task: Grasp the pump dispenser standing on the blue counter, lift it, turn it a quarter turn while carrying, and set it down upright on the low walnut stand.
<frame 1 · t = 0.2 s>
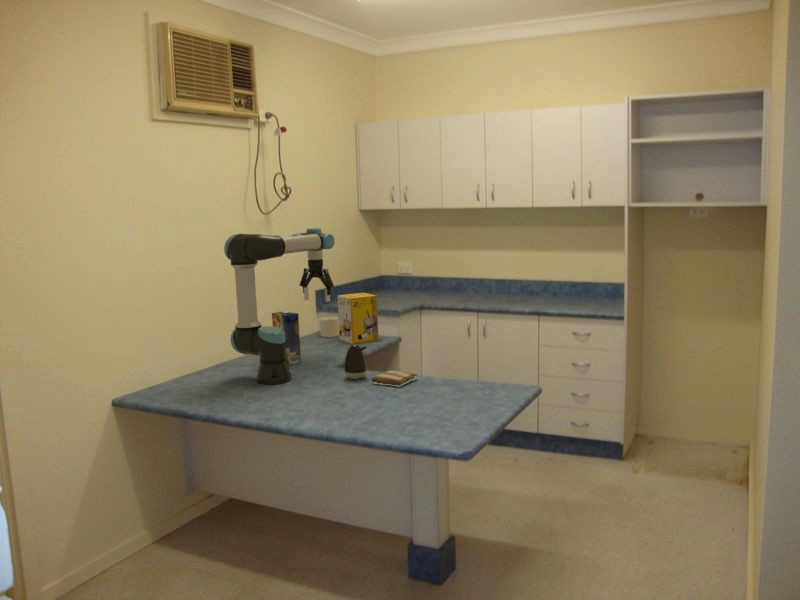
hand: (317, 300, 367), 28 cm above the countertop, fingers open, 13 cm apart
packaging box: (358, 340, 407), on the countertop
stand: (394, 381, 315), on the countertop
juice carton: (287, 361, 360), on the countertop
toilet tissue: (330, 336, 421), on the countertop
pump dispenser: (356, 378, 323), on the countertop
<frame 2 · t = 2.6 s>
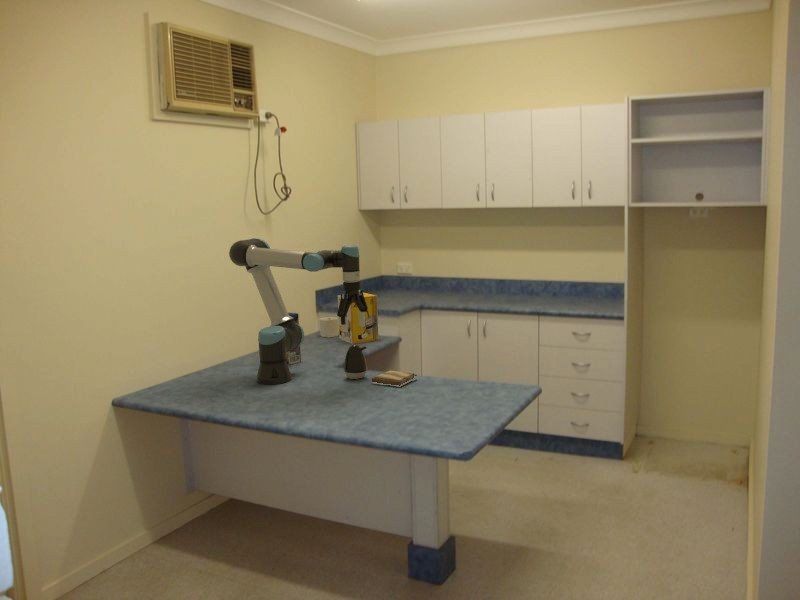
hand: (353, 329, 321), 22 cm above the countertop, fingers open, 13 cm apart
nothing on the countertop moved.
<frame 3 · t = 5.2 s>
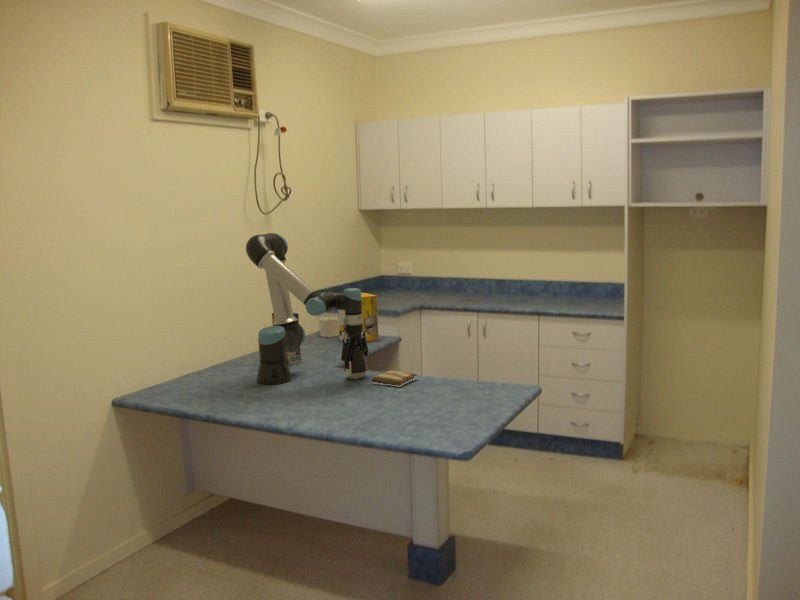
hand: (355, 372, 323), 2 cm above the countertop, fingers closed on pump dispenser, 10 cm apart
pump dispenser: (356, 378, 323), on the countertop, touching gripper
everything else where it was.
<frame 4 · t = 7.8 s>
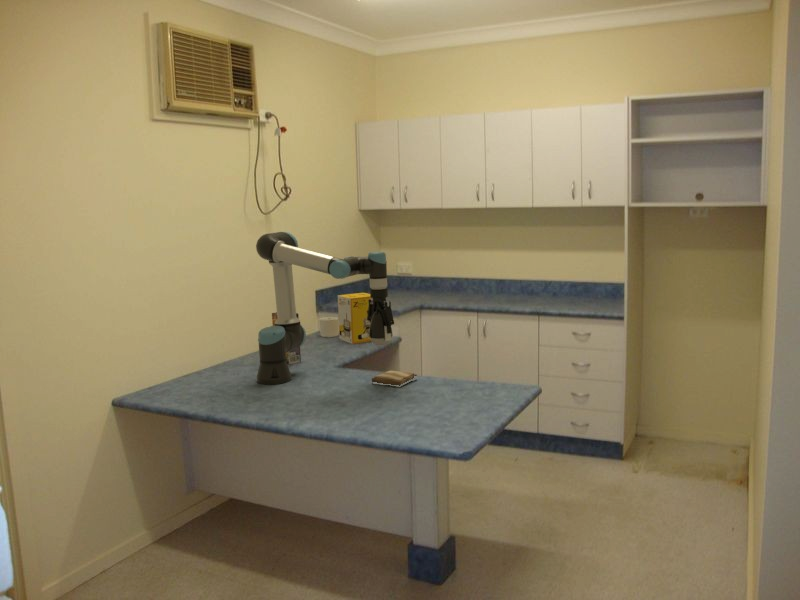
hand: (381, 339, 315), 18 cm above the countertop, fingers closed on pump dispenser, 10 cm apart
pump dispenser: (381, 344, 315), point 16 cm above the countertop, touching gripper
everything else where it was.
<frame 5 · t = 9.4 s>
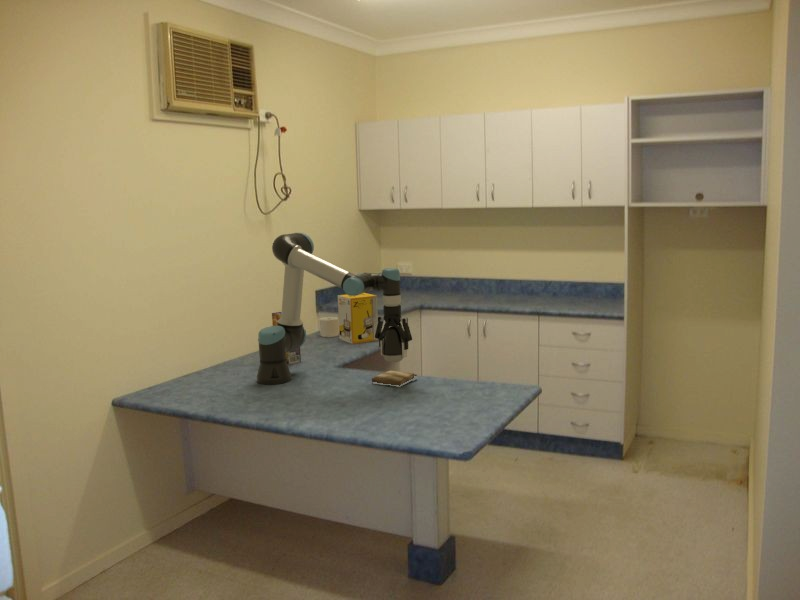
hand: (393, 355, 313), 11 cm above the countertop, fingers closed on pump dispenser, 10 cm apart
pump dispenser: (394, 361, 313), point 9 cm above the countertop, touching gripper
everything else where it was.
when the fingers open (6 cm above the countertop, at t = 10.9 s): pump dispenser stays where it is, resting on stand.
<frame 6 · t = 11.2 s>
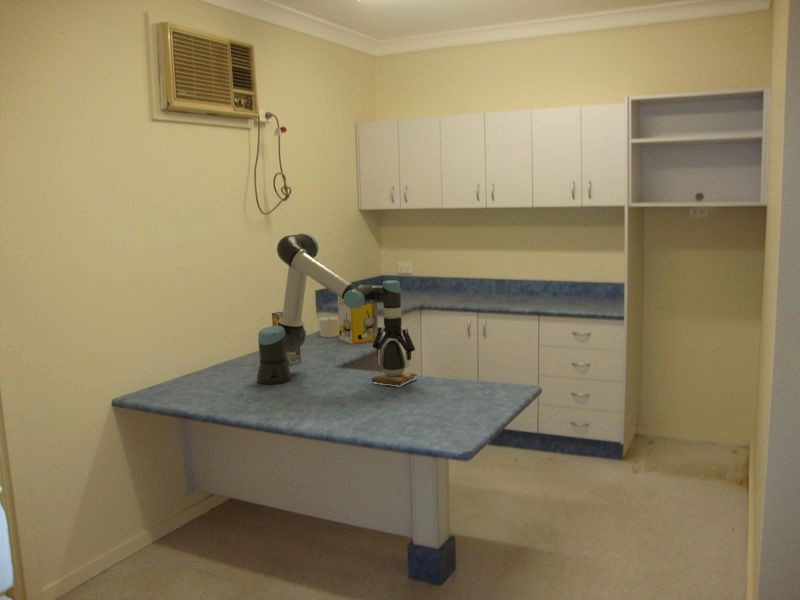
hand: (394, 365, 314), 7 cm above the countertop, fingers open, 13 cm apart
pump dispenser: (394, 375, 314), point 3 cm above the countertop, touching stand
everything else where it was.
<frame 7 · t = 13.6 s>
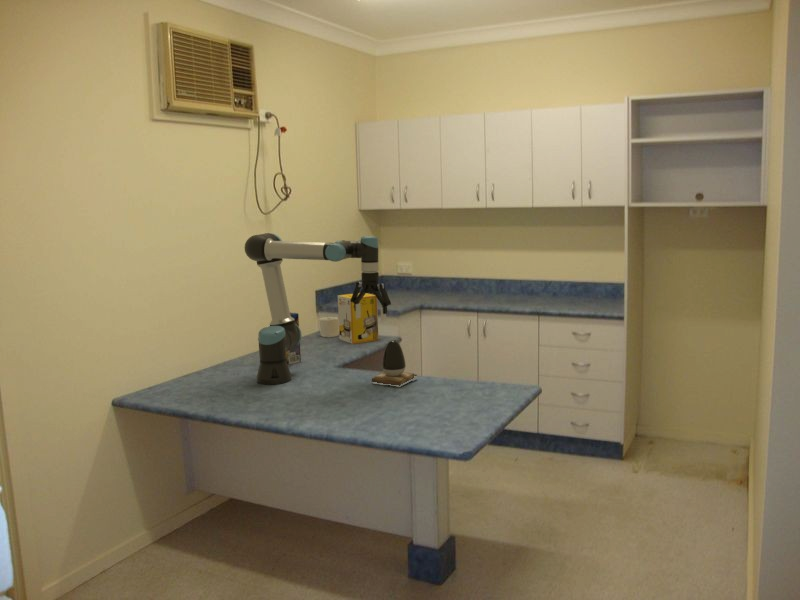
hand: (370, 319, 321), 26 cm above the countertop, fingers open, 13 cm apart
nothing on the countertop moved.
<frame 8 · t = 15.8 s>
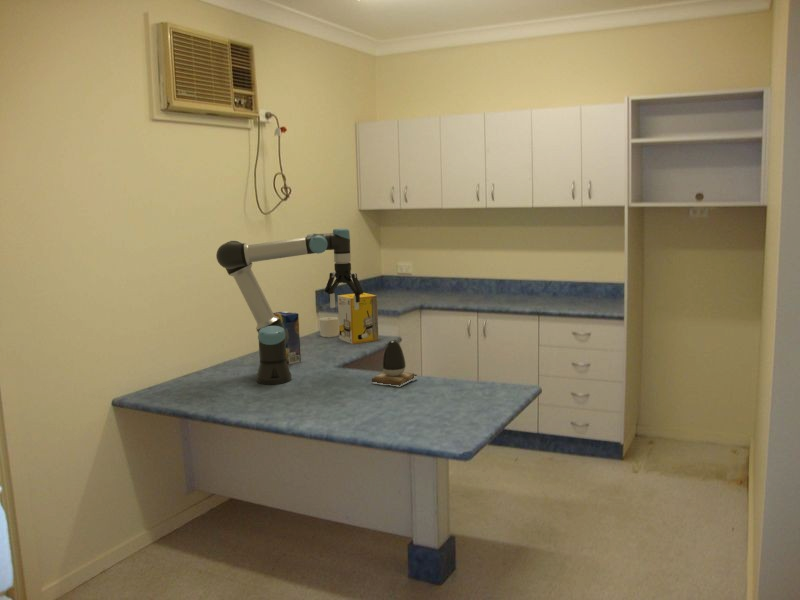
hand: (344, 308, 335), 29 cm above the countertop, fingers open, 13 cm apart
nothing on the countertop moved.
at the end: pump dispenser inside the target area on the stand (0.1 cm from its centre), point 2.8 cm above the stand's base; pump dispenser tilted 0°; the gripper is holding nothing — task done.
